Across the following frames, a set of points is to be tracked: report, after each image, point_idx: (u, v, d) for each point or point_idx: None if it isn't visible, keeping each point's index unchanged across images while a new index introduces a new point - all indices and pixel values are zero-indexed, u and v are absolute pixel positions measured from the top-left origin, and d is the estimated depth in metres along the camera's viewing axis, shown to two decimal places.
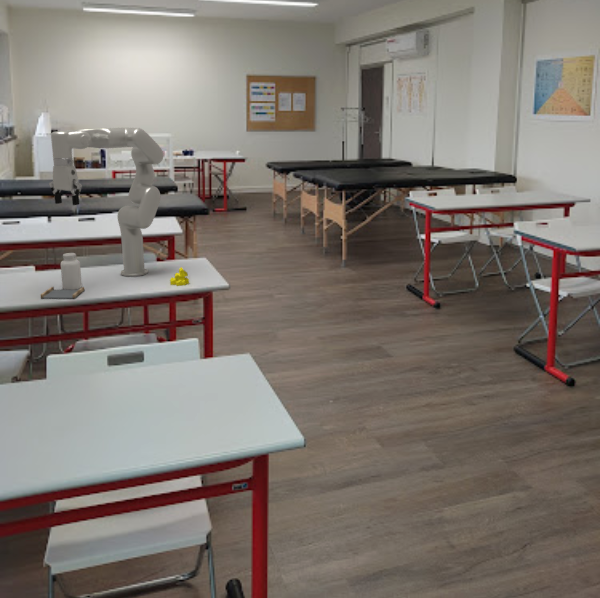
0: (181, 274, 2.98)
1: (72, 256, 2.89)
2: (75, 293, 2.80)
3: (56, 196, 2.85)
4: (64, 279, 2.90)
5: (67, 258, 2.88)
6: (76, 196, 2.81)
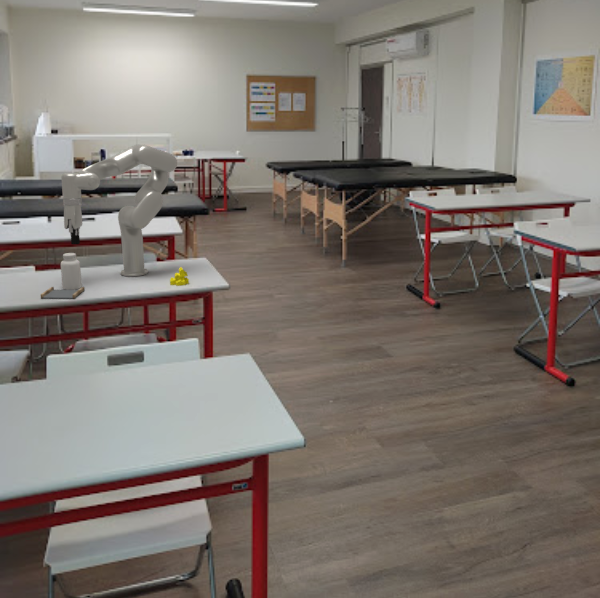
0: (181, 274, 2.98)
1: (72, 256, 2.89)
2: (75, 293, 2.80)
3: None
4: (64, 279, 2.90)
5: (67, 258, 2.88)
6: None
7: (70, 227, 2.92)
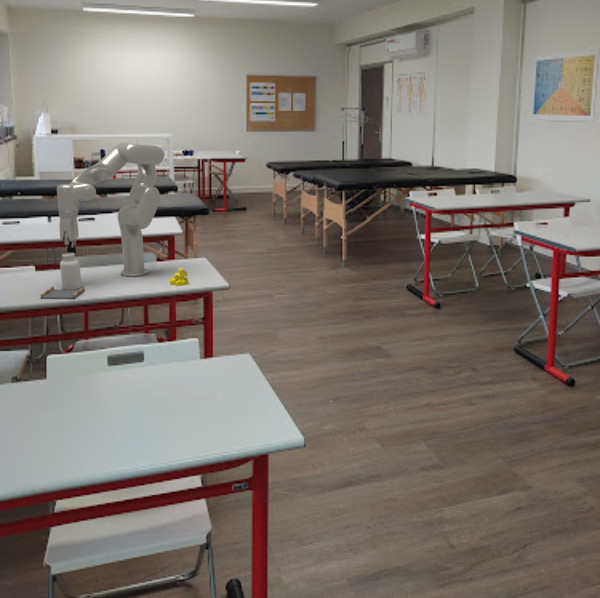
0: (181, 274, 2.98)
1: (71, 256, 2.88)
2: (75, 293, 2.80)
3: None
4: (64, 279, 2.90)
5: (66, 258, 2.88)
6: None
7: (66, 239, 2.88)
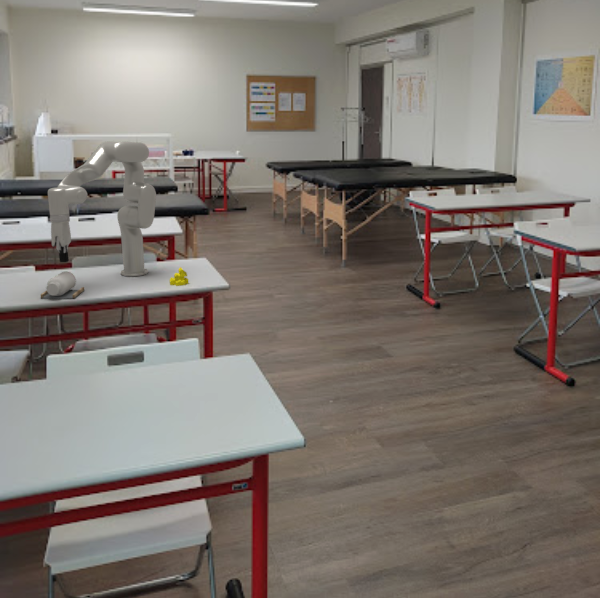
0: (180, 274, 2.98)
1: (58, 292, 2.76)
2: (75, 293, 2.80)
3: None
4: None
5: None
6: None
7: (58, 245, 2.78)
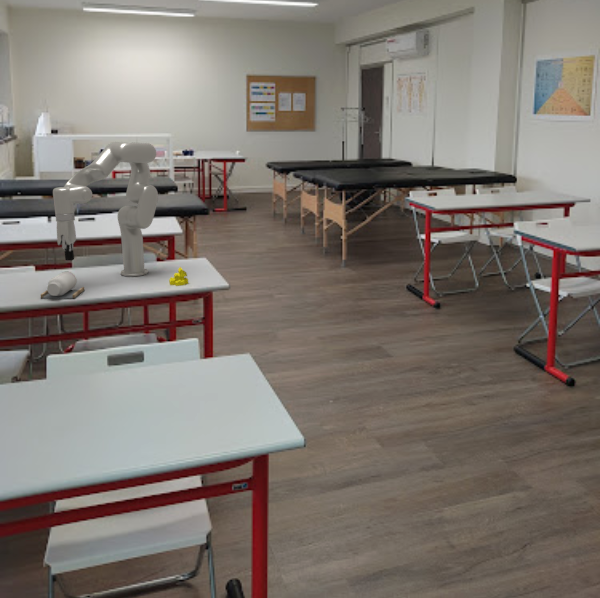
0: (180, 274, 2.98)
1: (58, 293, 2.77)
2: (75, 293, 2.80)
3: None
4: None
5: None
6: None
7: (63, 243, 2.84)
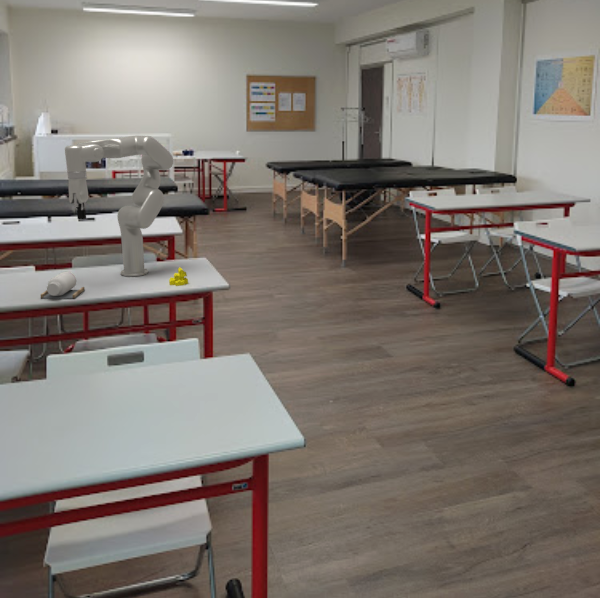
0: (180, 274, 2.98)
1: (58, 293, 2.76)
2: (75, 293, 2.80)
3: None
4: None
5: None
6: None
7: (75, 201, 2.84)
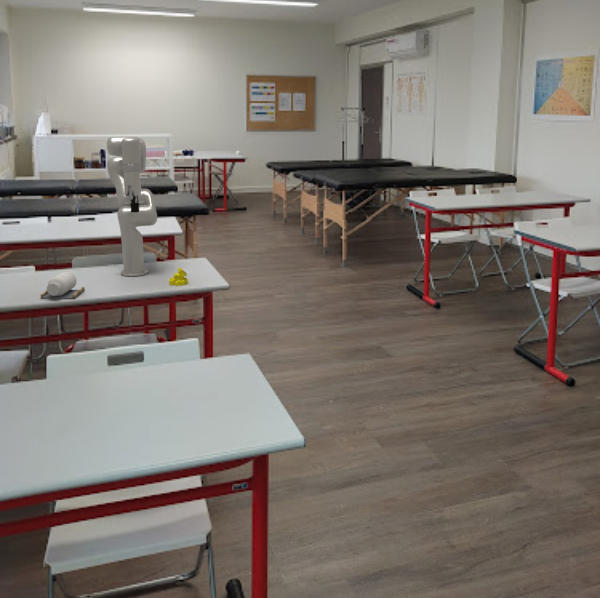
0: (180, 274, 2.98)
1: (58, 293, 2.76)
2: (75, 293, 2.80)
3: None
4: None
5: None
6: None
7: (130, 194, 2.84)
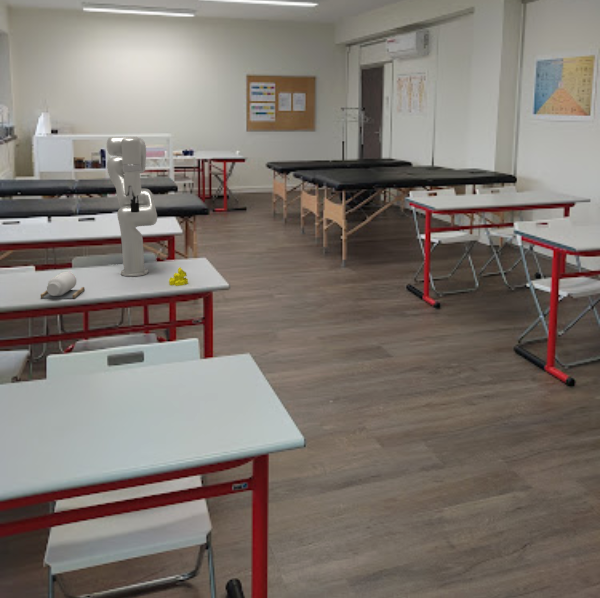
0: (180, 274, 2.98)
1: (58, 293, 2.76)
2: (75, 293, 2.80)
3: None
4: None
5: None
6: None
7: (131, 194, 2.84)
